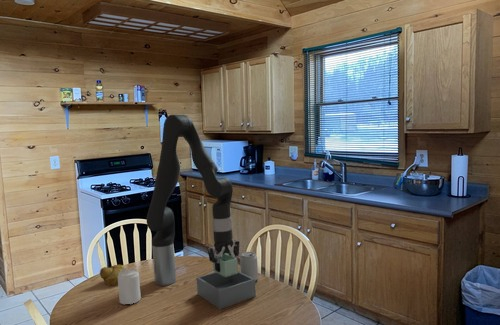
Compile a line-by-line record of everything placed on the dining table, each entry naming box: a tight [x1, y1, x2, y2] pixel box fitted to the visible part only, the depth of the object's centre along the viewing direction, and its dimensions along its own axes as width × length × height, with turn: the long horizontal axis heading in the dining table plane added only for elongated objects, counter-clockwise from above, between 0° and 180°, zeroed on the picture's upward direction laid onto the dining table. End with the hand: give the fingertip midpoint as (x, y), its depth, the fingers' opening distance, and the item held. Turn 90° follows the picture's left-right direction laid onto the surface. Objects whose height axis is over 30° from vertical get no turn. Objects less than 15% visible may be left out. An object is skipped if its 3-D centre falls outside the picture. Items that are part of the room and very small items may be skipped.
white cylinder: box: [117, 268, 142, 305], centre depth 158 cm, size 8×8×12 cm
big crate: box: [196, 270, 257, 310], centre depth 160 cm, size 18×17×7 cm
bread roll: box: [99, 264, 127, 286], centre depth 180 cm, size 13×10×8 cm
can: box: [239, 251, 259, 282], centre depth 174 cm, size 8×8×12 cm
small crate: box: [212, 253, 239, 277], centre depth 159 cm, size 9×6×6 cm, turn 36°
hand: (225, 269), depth 159 cm, fingers closed on small crate, 6 cm apart
